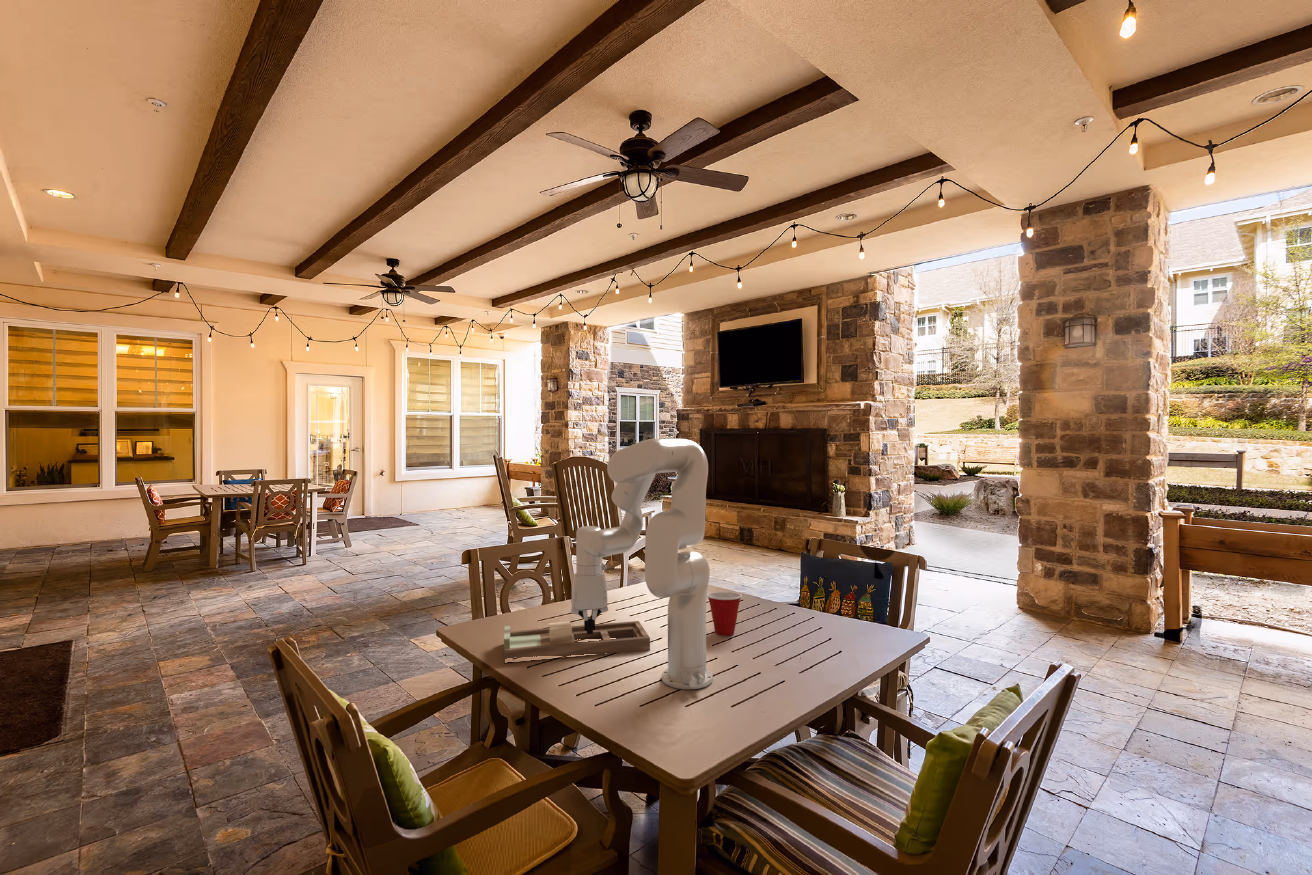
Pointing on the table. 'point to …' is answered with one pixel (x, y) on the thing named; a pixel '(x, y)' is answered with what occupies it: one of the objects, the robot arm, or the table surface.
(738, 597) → the plastic cup
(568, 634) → the maple block
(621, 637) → the tray
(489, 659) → the table surface
